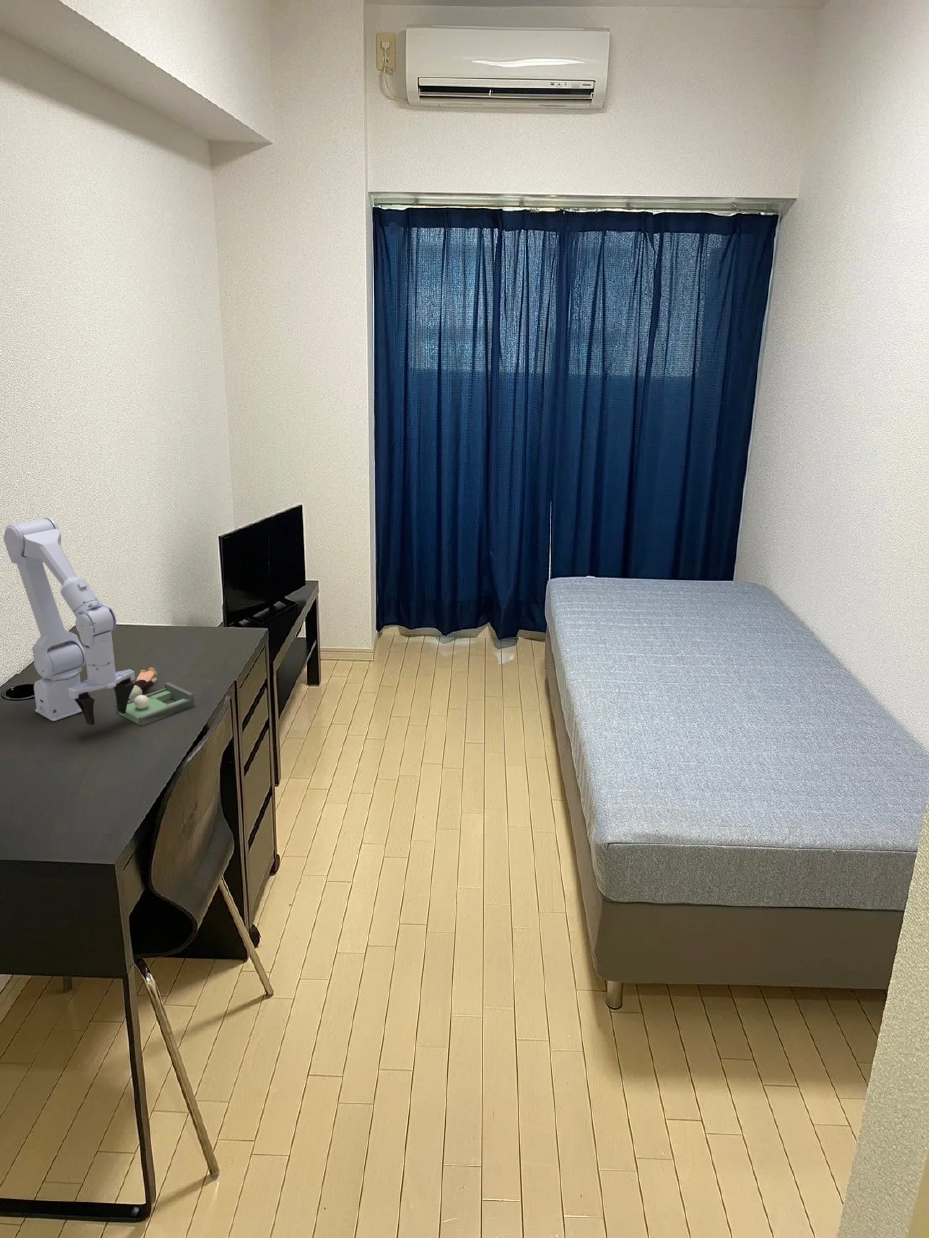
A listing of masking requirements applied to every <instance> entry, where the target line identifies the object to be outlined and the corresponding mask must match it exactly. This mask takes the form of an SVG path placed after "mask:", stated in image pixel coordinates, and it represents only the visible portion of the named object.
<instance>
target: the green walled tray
mask: <svg viewBox="0 0 929 1238" xmlns="http://www.w3.org/2000/svg"><path fill="white" fill-rule="evenodd" d="M144 695H145V696H146V697H147V698H148V700H149V704H148V706H147V707H146V708H144V709H139V708H137V707H136V706H135V704H134V700H135V699H132V700H131V699H128V703H127V708H126V713H124V714H122V713H120V712H119V711H118V709H117V704H115V710H116V714H118V715H119V716H121V717H124V718H125V719H127V720H129V721H131V722H133V723H135V724H137V725H139V726H141V727H144V726H146V725H149V724H152V723H154V722H156V721H160V720H163V719H164V718H169V717H171V716H172V715H175V714H178V713H181V712H183V711H187V710H188V709H191V708H194V707H195V697H194V693H192V692H191V691H188V690H186V689H184V688H182V687H179V686H177V685H175V684H173V683H171V682H169V681H168V682H164V688H161V689H158V690H156V691H153V692H149V693H146V694H144ZM169 700H174V702H173V701H172V702H170V703H165V701H169Z"/></svg>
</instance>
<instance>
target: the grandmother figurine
mask: <svg viewBox="0 0 929 1238" xmlns="http://www.w3.org/2000/svg"><path fill="white" fill-rule="evenodd" d="M157 676H158V672H157V671H156V669H155V668H154V667H148V670H145V669H141V670H140V671H139V674H138V676H137V677H136V681H135V682H133V683H134V688H133V690H132V692H131V694H130V696H129V699H128V700H132V699H135V698H136V697H137V696H139V695H143V692H144V691H145V690H147V689H148V688H149V687H151V686H153V685H154V684H155V683H156V682H158V677H157Z"/></svg>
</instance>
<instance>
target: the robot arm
mask: <svg viewBox="0 0 929 1238" xmlns="http://www.w3.org/2000/svg"><path fill="white" fill-rule="evenodd" d="M61 533H62V532H60V529H59V527H58V524H57V523H56V522H55V521H54V519H52V518H51V517H44V518H42V519H41V518H40V519H37V520H32V521H26V522H22V523H21V522H20V523H16V524H12V523H11V524H7V526H6V528H5V531H4V534H3V542H4V545H5V549H6V550H7V554H8V557H9V560H10V561H11V563H13V564H15V565H16V567H17V569H18V572H19V574H20V578H21V581H22V585H23V586H24V590H25V593H26V596H27V599H28V602H29V605H30V607H31V611H32V614H33V617H34V620H35V623H36V625H37V629H38V632H39V638H38V639H37V640H36V641H35V643H34V644H33V646H32V648H31V650H32V654H33V664H34V668H35V670H36V672H37V673H38V675H40V676H41V678H40V679H39V680H36V681H35V682H34V684H33V691H34V692H33V693H34V699H35V707H36V708H35V712H36V713H38V714H40V715H41V716H42V717H45V718H47V719H48V720H50V721H51V722H55V721H58V720H61V719H64V718H67V717H71V716H73V715H76V714H78V713H81V712H82V714H83V716H84V718H85V719H84V720H85V722H86V724H88V725H90V726H94V725H95V715H94V704H95V700H96V699H95V698H92V696H91V694H89V693H92V692H96V691H99V690H103V689H112V688H113V690H114V694H115V700H116V701H115V703H116V705H117V709H118V711H119V712H120V713H122V714H124V713H126V708H127V703H128V701H129V700H130V699H129V696H130V694H131V692H132V690H133V688H134V683H135V682H133V680H135V679H136V676H135V675H136V674H135V671H134V670H132V669H130V668H129V669H125V670H121V671H116V663H115V654H114V645H113V637H112V636H113V635H112V631H114V630H115V629H116V627H117V616H116V615H115V612H114V610H113V609H112V607H111V606H110V605H108V604H105V603H104V601H103V600H99V599H98V597H97V596H96V594H95V593H94V591H93V589H92V587H90V585H89V584H88V582H87V580H86V579H84V578H80V577H78V575H76V572H75V571H74V568H73V567H72V565H71V563H70V561H69V559H68V557H67V556H66V553H65V552H64V549H63V548H62V545H61V543H62V534H61ZM44 565H45V566H46V567H47V568H48V570H49V571H50V572H51V573H52V574H53V576H54V577H55V578H56V579H57V580H56V581H58V583H60V584H61V587H60V595H61V597H62V598H63V600H64V601H65V602H66V604H67V606H68V607H69V609H70V610H71V612H72V613H73V615H74V616H75V622H74V623H75V628H76V630H77V633H78V635H79V637H78V635H77V634H75V633H73V632H71V631H69V630H67V629H65V626H64V623H63V620H62V617H61V615H60V611H59V609H58V606H57V602H56V599H55V597H54V593H53V590H52V588H51V584H50V581H49V579H48V576H47V573H46V570H45V566H44ZM79 639H80V640H79ZM62 643H63V644H62ZM60 644H61V645H60ZM82 644H83V645H82ZM56 645H57V646H56ZM53 646H54V647H53ZM85 666H86V672H87V673H86V675H87V679H85V680H83V681H82V682H81V676H80V675H81V674H80V673H81V672H83V667H85Z"/></svg>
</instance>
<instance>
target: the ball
mask: <svg viewBox="0 0 929 1238" xmlns="http://www.w3.org/2000/svg"><path fill="white" fill-rule="evenodd" d="M145 695H146V694H142V695H139V696H137V697H136V698H135V700H134V704H135V706H136V707H137V708H139V709H144V708H146V707H147V706H148V704H149V700H148V698H147V697H146V696H145Z"/></svg>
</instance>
